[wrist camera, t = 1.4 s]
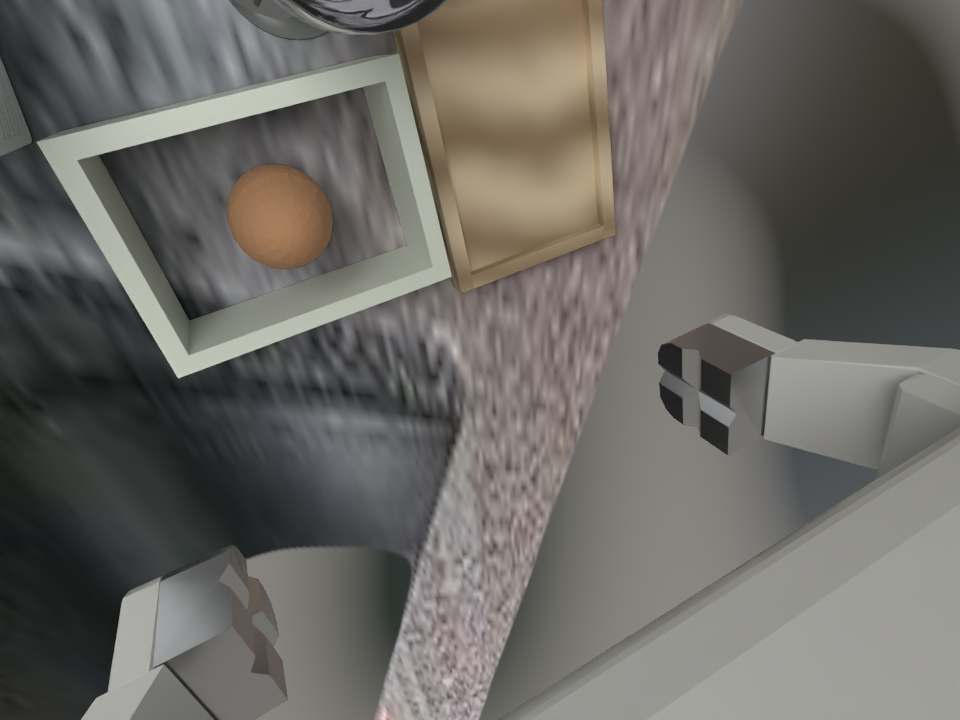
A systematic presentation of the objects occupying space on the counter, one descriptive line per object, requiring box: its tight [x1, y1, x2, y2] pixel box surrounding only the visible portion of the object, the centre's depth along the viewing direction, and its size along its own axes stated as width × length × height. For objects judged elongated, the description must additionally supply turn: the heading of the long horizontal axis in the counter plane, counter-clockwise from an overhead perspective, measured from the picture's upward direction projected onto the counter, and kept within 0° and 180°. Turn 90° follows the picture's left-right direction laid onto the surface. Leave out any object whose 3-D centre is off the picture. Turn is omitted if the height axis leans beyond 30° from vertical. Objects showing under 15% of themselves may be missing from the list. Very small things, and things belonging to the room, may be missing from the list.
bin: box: [37, 54, 452, 378], centre depth 30 cm, size 12×16×5 cm
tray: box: [393, 0, 616, 293], centre depth 35 cm, size 18×13×2 cm
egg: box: [227, 164, 333, 269], centre depth 29 cm, size 5×5×8 cm
